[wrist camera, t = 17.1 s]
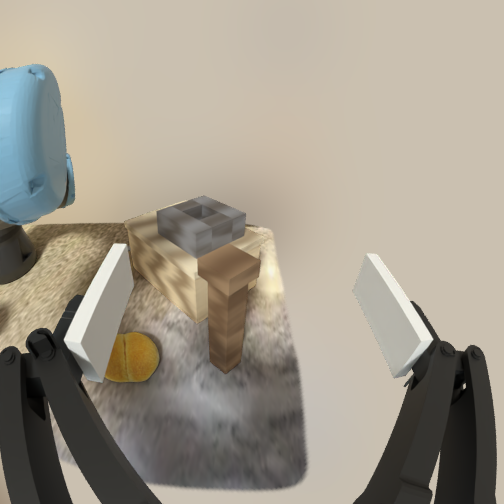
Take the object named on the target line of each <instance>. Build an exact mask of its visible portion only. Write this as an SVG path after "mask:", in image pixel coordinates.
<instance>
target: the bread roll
mask: <svg viewBox="0 0 504 504" xmlns="http://www.w3.org/2000/svg"><path fill="white" fill-rule="evenodd" d="M158 363H159V353H158V349H157V347H156V345H155V344H154V342H153V341H152V340H151V339H150V338H148V337H147V336H145V335H143V334H141V333H138V332H130V333H127V334H118V333H117V335H116V339H115V342H114V345H113V348H112V352H111V355H110V358H109V362H108V365H107V369H106V372H105V376H104V377H106V378H107V379H109V380H111V381H114V382H142V381H146V380H147V379H148V378H150V376H151V375H152V374H153V372H154V371H155V370H156V368H157V366H158Z"/></svg>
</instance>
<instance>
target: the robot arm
mask: <svg viewBox="0 0 504 504" xmlns="http://www.w3.org/2000/svg"><path fill="white" fill-rule="evenodd" d="M60 97H61V96H60V91H59V87H58V83H57V81H56V78H55V76H54V74H53V73H52V71H51V70H50V69H49V68H48V67H46V66H44V65H39V64H32V65H27V66H23V67H18V68H8V69H7V68H5V69H2V70H0V284H6V283H9V282H12V281H14V280H16V279H18V278H20V277H21V276H23V275H24V274H25V273H26V272H28V271H29V270H30V269H31V267H32V266H33V265H34V263H35V262H36V259H37V253H36V250H35V247H34V244H33V243H32V241H31V240H30V239H29V237H28V236H27V234H26V232H25V231H24V229H23V228H22V225H24V224H28V223H32V222H34V221H36V220H38V219H39V218H40V217H41V216H43V215H46V214H49V213H51V212H53V211H55V210H56V209H58V208H65V207H66V206H68V205H71V204H73V202H74V200H75V184H74V174H73V167H72V162H71V158H70V155H69V154H68V153H66V139H65V128H64V119H63V111H62V108H61V98H60ZM133 287H134V281H133V276H132V271H131V265H130V260H129V254H128V248H127V244H113V246H112V248H111V249H110V251H109V253H108V254H107V256H106V258H105V260H104V261H103V263H102V265H101V266H100V268H99V270H98V272H97V274H96V275H95V277H94V279H93V281H92V283H91V285H90V287H89V288H88V290H87V292H86V294H85V296H83V295H76V296H75V297H74V298H73V299H72V300H71V301H69V303H68V305H67V307H66V309H65V312H64V313H63V315H62V318H60V320H59V322H58V324H57V326H56V329H55V331H54V333H53V334H52V333H51V331H50V330H48V329H47V328H39V329H36V330H34V331H33V332H31V333H30V335H29V336H28V337H27V340H26V348H27V349H28V351H29V352H30V353H24V354H21V353H20V351H19V350H18V348H16V347H14V346H9V347H7V348H5V349H4V350H3V351H2V352H1V353H0V452H1V459H2V465H3V470H4V475H5V480H6V485H7V489H8V493H9V497H10V501H11V504H73V503H72V500H71V498H70V495H69V492H68V489H67V486H66V483H65V480H64V476H63V473H62V469H61V465H60V462H59V458H58V454H57V450H56V445H55V441H54V436H53V431H52V425H51V419H50V413H49V406H48V402H49V405H50V407H51V410H52V412H53V415H54V417H55V420H56V422H57V424H58V426H59V429H60V431H61V433H62V435H63V437H64V440H65V442H66V444H67V446H68V448H69V450H70V452H71V454H72V456H73V457H74V459H75V461H76V463H77V465H78V467H79V468H80V470H81V472H82V473H83V475H84V477H85V479H86V480H87V482H88V484H89V485H90V487H91V488H92V490H93V491H94V493H95V495H96V496H97V498H98V499H99V500H100V502H101V503H102V504H162V503H161V502H160V501H159V500H158V498H157V497H156V496H155V495H154V494H153V493H152V491H151V490H150V489H149V488H148V486H147V485H146V484H145V483H144V481H143V480H142V479H141V477H140V476H139V475H138V474H137V472H136V471H135V470H134V468H133V467H132V465H131V464H130V463H129V461H128V460H127V458H126V457H125V456H124V454H123V453H122V451H121V450H120V448H119V447H118V445H117V444H116V442H115V440H114V439H113V437H112V436H111V434H110V432H109V431H108V429H107V428H106V426H105V424H104V422H103V421H102V419H101V417H100V416H99V414H98V412H97V410H96V408H95V406H94V405H93V403H92V401H91V399H90V397H89V395H88V393H87V391H86V389H85V387H84V385H83V383H82V382H81V377H82V374H84V375H85V377H86V379H87V380H90V381H95V382H100V383H103V379H104V376H105V372H106V369H107V365H108V362H109V358H110V355H111V352H112V348H113V345H114V342H115V339H116V335H117V332H118V329H119V326H120V323H121V320H122V317H123V314H124V312H125V309H126V306H127V303H128V300H129V298H130V295H131V292H132V289H133ZM353 293H354V294H355V296H356V298H357V300H358V302H359V304H360V306H361V308H362V310H363V312H364V314H365V316H366V318H367V321H368V323H369V325H370V327H371V329H372V331H373V333H374V335H375V337H376V340H377V342H378V344H379V346H380V348H381V351H382V353H383V355H384V357H385V360H386V362H387V364H388V366H389V369H390V371H391V373H392V376H393V378H398V377H402V376H406V374H407V373H408V372H409V371H410V370H411V368H412V370H413V372H414V374H413V375H412V376H411V378H410V379H409V380H408V381H407V382H406V383H405V385H404V387H406V386H407V385H408V384H409V386H408V389H407V392H406V395H405V398H404V401H403V404H402V407H401V410H400V413H399V416H398V418H397V421H396V424H395V426H394V429H393V431H392V434H391V437H390V439H389V441H388V444H387V446H386V448H385V451H384V453H383V455H382V457H381V460H380V462H379V464H378V466H377V468H376V470H375V472H374V474H373V476H372V478H371V480H370V482H369V484H368V485H367V488H366V489H365V491H364V492H363V493H362V494H361V495H360V496H359V497H358V498H357V499H356V500H355V502H354V503H353V504H430V502H431V499H432V495H433V494H432V491H431V490H430V489H429V483H430V480H431V477H432V474H433V471H434V468H435V465H436V462H437V459H438V455H439V452H440V462H439V472H438V480H437V487H436V494H435V500H434V504H496V498H495V489H496V469H497V468H496V467H497V449H496V429H495V416H494V408H493V399H492V393H491V386H490V380H489V375H488V370H487V365H486V360H485V356H484V354H483V352H482V350H481V349H480V348H479V347H477V346H475V345H470V346H468V348H467V349H466V350H465V352H463V351H456V350H455V348H454V347H453V346H452V345H451V344H450V343H448V342H446V341H441V340H440V339H439V337H438V335H437V334H436V332H435V330H434V329H433V327H432V326H431V324H430V323H429V321H428V319H427V318H426V316H424V313H423V311H422V310H421V308H420V307H419V306H418V305H416V303H414V302H413V301H409V299H408V298H407V296H406V295H405V293H404V292H403V290H402V289H401V287H400V286H399V284H398V283H397V281H396V280H395V279H394V277H393V276H392V274H391V273H390V271H389V270H388V269H387V267H386V266H385V264H384V263H383V262H382V260H381V259H380V257H379V256H378V255H377V254H366V255H365V258H364V261H363V264H362V266H361V269H360V272H359V275H358V277H357V280H356V283H355V285H354V288H353ZM465 383H466V388H465V389H463V384H465ZM440 448H441V449H440Z"/></svg>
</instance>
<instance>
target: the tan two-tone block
mask: <svg viewBox="0 0 504 504" xmlns="http://www.w3.org/2000/svg"><path fill="white" fill-rule="evenodd" d="M245 220H246V213H244V212H241V211H239V210H237V209H234V208H232V207H230V206H227V205H225V204H222V203H220V202H218V201H216V200H213V199H211V198H209V197H206V196H201V197H198V198H195V199H191V200H188V201H187V200H185V201H182V202H179V203H176V204H173V205H170V206H167V207H164V208H161V209H158V210H155V211H152V212H149V213H146V214H143V215H140V216H138V217H135V218H132V219H129V220H127V221H124V223H125V228H127V230H128V237H129V244H130V250H131V256H132V262H133V267H134V268H135V269H136V270H137V271H138V272H139V273H140V274H141V275H142V276H143V277H144V278H145V279H146V280H147V281H149V282H150V283H151V284H152V285H153V286H154V287H155V288H156V289H157V290H158V291H160V292H161V293H162V294H163V295H164V296H165V297H166V298H168V299H169V300H170V301H171V302H172V303H173V304H174V305H176V306H177V307H178V308H179V309H180V310H181V311H183V312H184V313H185V314H186V315H187V316H189V317H190V318H191V319H192V320H193V321H195V322H196V323H197V324H198V323H200V322H201V321H203V320H204V319H206V318H207V317H208V282H207V281H206V280H204V279H203V278H201V277H200V276H198V268H197V258H199V257H202V256H204V255H206V254H208V253H210V252H212V251H214V250H216V249H218V248H220V247H222V246H224V245H226V244H228V243H229V244H231V245H233V246H235V247H237V248H239V249H241V250H242V251H244V252H246V253H248V254H250V255H252V256H254V257H255V258H257V259H259V253H260V245H261V244H263V241H264V237H263V236H261V235H259V234H257V233H255V232H253V231H251V230H249V229H247V228H245ZM254 286H256V279H255V280H253V281H252V282H250V283H249V284H248V290H250V289H251V288H253V287H254Z"/></svg>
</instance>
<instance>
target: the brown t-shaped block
mask: <svg viewBox="0 0 504 504" xmlns="http://www.w3.org/2000/svg"><path fill="white" fill-rule="evenodd" d="M260 264H261V260H259V259H257V258H255V257H254V256H252V255H250V254H248V253H246V252H244V251H242V250H241V249H239V248H237V247H235V246H233V245H231V244H229V243H228V244H226V245H224V246H222V247H220V248H218V249H216V250H214V251H212V252H210V253H208V254H206V255H204V256H202V257H199V258H197V268H198V276H200V277H201V278H203V279H204V280H206V281H207V282H208V326H209V353H210V362H211V363H212V364H214V365H215V366H216V367H217V368H218V369H220V370H221V371H222V372H223V373H225V374H227V373H228V372H229V371H230V370H232V369H233V368H234V367H235V366H236V365H238V364H239V363H240V362H241V354H242V344H243V334H244V324H245V314H246V304H247V294H248V284H249V283H250V282H252V281H253V280H255V279H256V278H258V277H259V272H260Z"/></svg>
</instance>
